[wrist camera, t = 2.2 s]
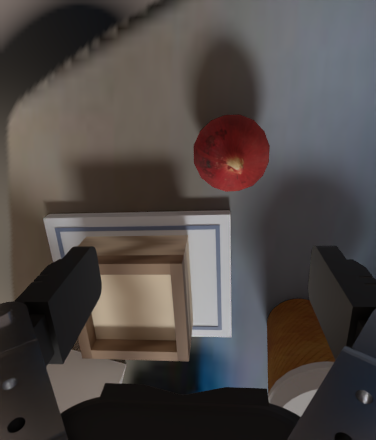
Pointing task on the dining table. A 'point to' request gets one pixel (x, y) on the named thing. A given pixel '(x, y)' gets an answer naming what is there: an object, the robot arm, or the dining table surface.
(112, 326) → the square wooden tray
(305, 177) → the dining table surface
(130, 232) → the board
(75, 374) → the milk
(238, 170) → the red round fruit
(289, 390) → the disposable coffee cup
